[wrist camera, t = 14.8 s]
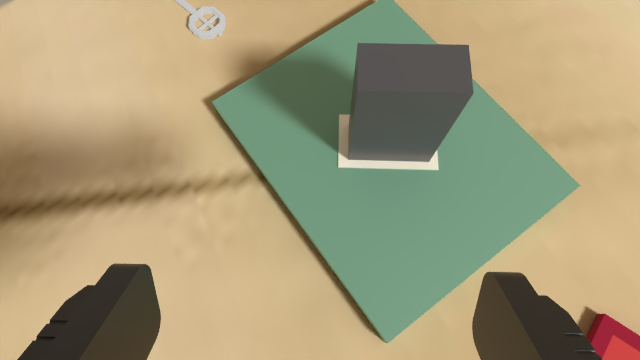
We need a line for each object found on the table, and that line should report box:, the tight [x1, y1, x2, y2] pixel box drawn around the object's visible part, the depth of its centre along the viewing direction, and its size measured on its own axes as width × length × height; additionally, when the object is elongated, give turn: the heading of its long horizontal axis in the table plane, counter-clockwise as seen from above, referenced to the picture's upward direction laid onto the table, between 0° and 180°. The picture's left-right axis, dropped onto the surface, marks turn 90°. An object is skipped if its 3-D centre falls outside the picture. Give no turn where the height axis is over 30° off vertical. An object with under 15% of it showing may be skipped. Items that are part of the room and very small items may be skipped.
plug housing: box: [348, 43, 474, 162], centre depth 26 cm, size 3×6×10 cm, turn 88°
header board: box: [212, 0, 580, 343], centre depth 30 cm, size 22×18×4 cm
